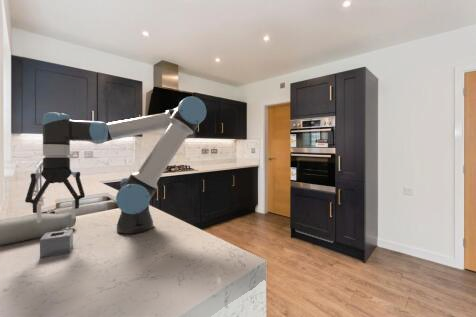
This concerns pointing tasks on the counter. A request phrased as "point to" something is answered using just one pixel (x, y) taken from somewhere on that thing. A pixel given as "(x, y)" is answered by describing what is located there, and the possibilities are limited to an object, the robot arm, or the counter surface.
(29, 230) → the grey cylindrical pipe
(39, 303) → the counter surface
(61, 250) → the collar
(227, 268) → the counter surface
